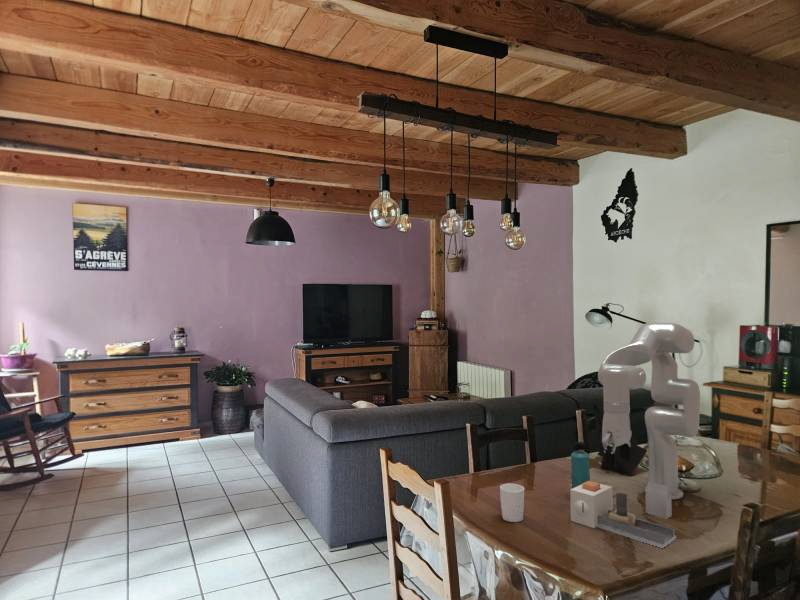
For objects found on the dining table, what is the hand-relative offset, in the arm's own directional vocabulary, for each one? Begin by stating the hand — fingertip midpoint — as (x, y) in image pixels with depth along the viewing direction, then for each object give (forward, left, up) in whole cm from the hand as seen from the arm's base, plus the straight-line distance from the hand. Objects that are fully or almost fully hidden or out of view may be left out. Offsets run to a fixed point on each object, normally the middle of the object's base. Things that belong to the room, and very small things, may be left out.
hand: (617, 462), depth 161 cm
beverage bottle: (-14, -21, -20) cm, 33 cm away
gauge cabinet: (0, -9, -20) cm, 22 cm away
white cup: (+18, -27, -20) cm, 39 cm away
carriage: (0, +1, -19) cm, 19 cm away
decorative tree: (-51, -27, -20) cm, 61 cm away
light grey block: (-19, +4, -20) cm, 28 cm away
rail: (0, +5, -20) cm, 21 cm away
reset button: (0, -9, -13) cm, 16 cm away
